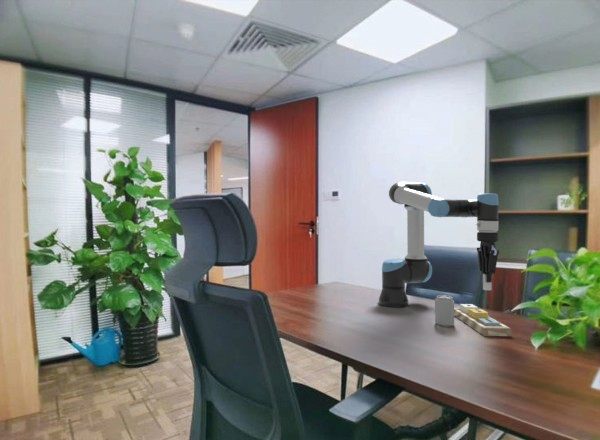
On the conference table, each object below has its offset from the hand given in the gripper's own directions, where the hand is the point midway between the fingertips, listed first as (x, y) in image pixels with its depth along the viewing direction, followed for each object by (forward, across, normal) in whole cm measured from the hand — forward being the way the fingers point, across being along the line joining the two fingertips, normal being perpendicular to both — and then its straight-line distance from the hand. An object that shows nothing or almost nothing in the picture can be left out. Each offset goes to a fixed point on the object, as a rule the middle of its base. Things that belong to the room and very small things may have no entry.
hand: (487, 289), depth 136 cm
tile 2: (+14, -7, 0) cm, 15 cm away
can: (+16, -6, -15) cm, 23 cm away
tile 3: (+15, +1, 0) cm, 15 cm away
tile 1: (+14, -16, 0) cm, 21 cm away
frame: (+16, -7, 0) cm, 18 cm away
